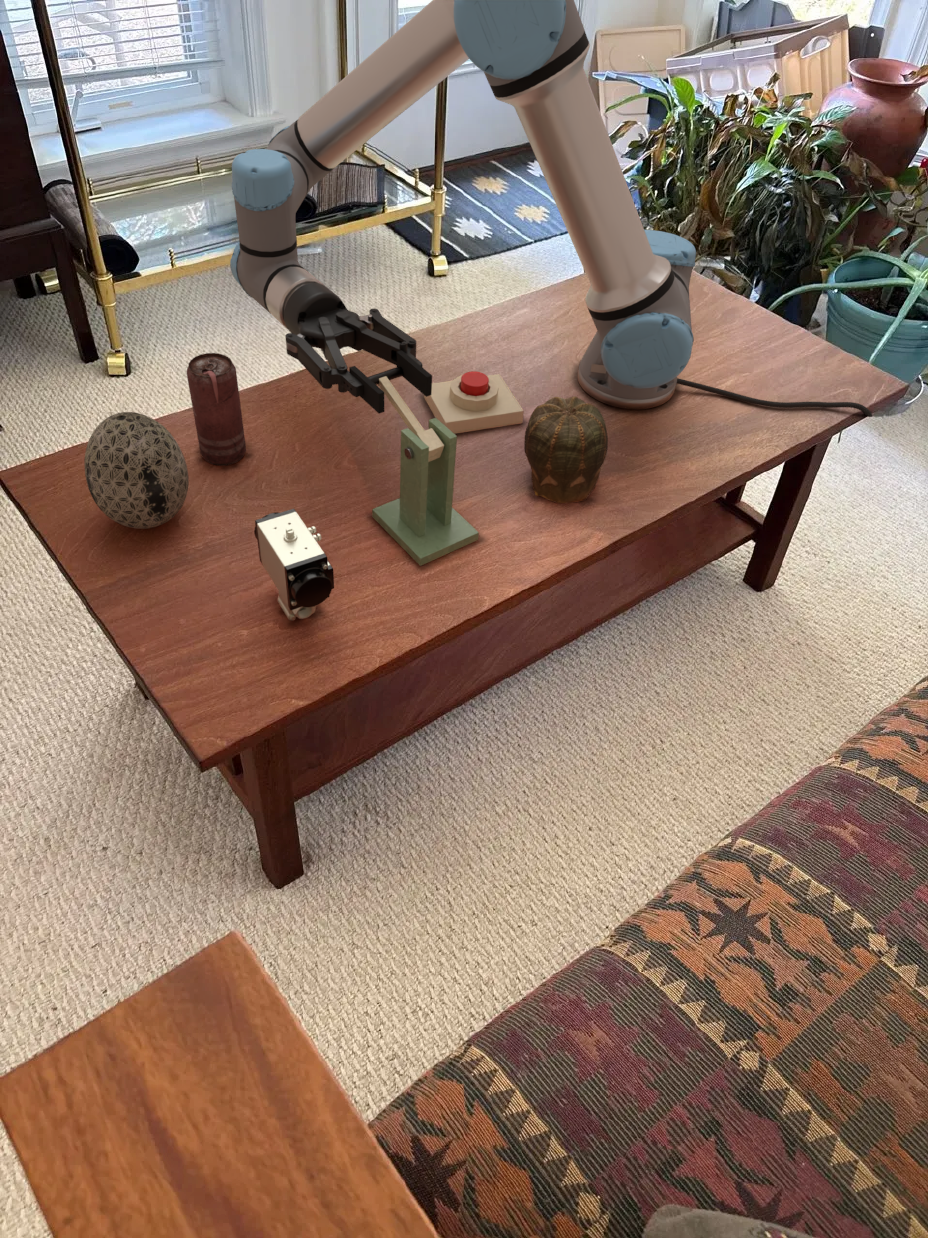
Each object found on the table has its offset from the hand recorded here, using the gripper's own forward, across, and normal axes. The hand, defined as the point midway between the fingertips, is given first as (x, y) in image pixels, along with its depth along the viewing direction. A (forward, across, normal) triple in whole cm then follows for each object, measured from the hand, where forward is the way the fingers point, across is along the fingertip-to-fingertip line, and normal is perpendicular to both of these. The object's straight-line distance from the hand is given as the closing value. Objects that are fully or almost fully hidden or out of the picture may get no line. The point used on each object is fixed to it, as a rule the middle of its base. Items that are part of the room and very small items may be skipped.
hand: (405, 394), depth 112 cm
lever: (0, 0, -4) cm, 4 cm away
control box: (-13, -21, -17) cm, 30 cm away
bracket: (+5, 0, -17) cm, 18 cm away
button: (-13, -21, -14) cm, 28 cm away
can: (-22, +15, -17) cm, 32 cm away
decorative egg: (-15, +29, -17) cm, 37 cm away
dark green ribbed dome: (+7, -21, -18) cm, 28 cm away
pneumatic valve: (+8, +20, -18) cm, 28 cm away
